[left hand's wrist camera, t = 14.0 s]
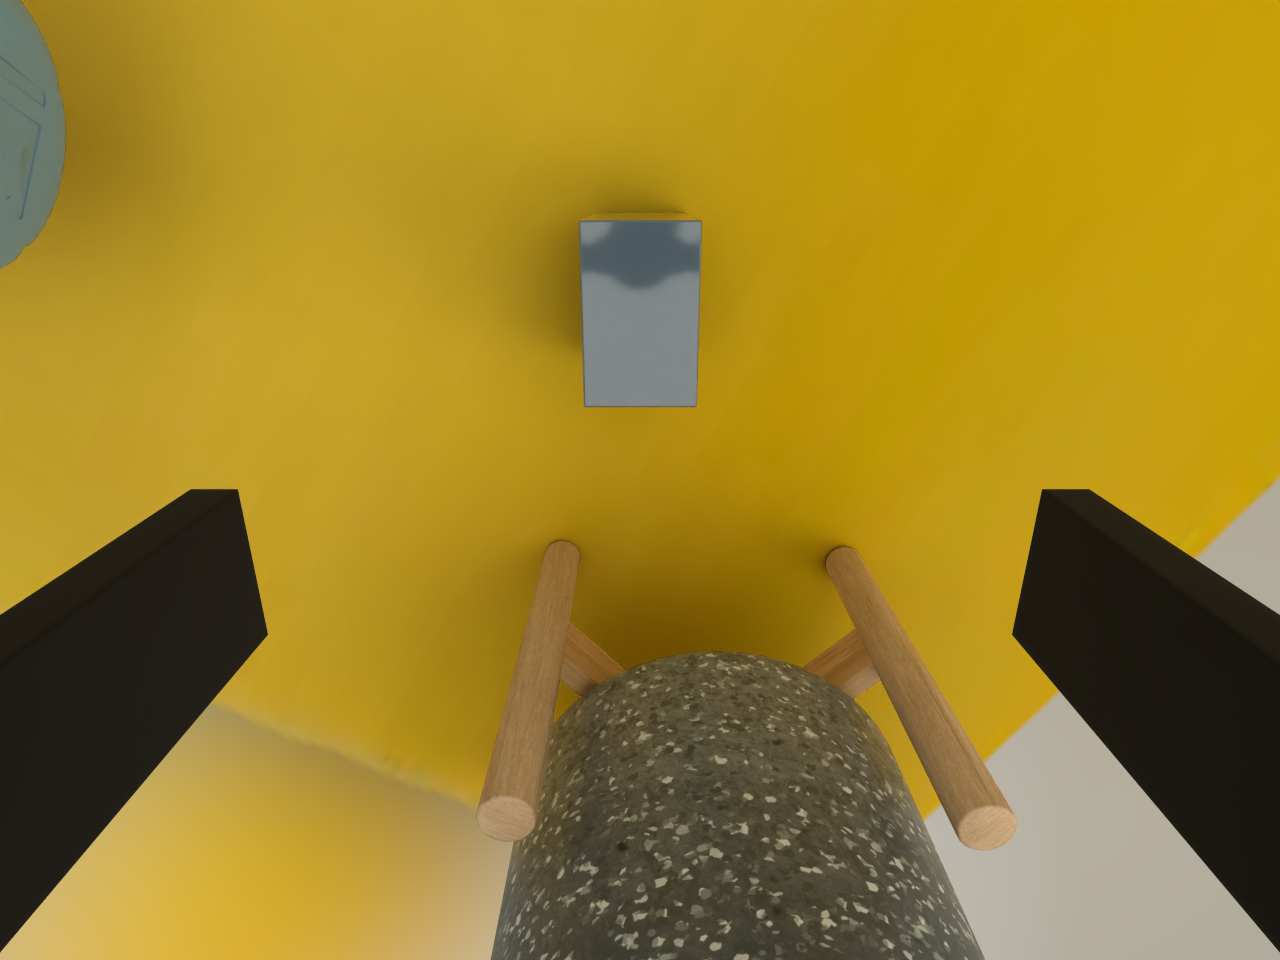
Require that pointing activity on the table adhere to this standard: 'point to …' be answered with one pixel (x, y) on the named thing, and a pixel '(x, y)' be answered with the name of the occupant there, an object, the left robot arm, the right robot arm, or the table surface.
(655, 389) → the brick
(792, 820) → the planter
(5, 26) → the right robot arm
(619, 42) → the table surface
